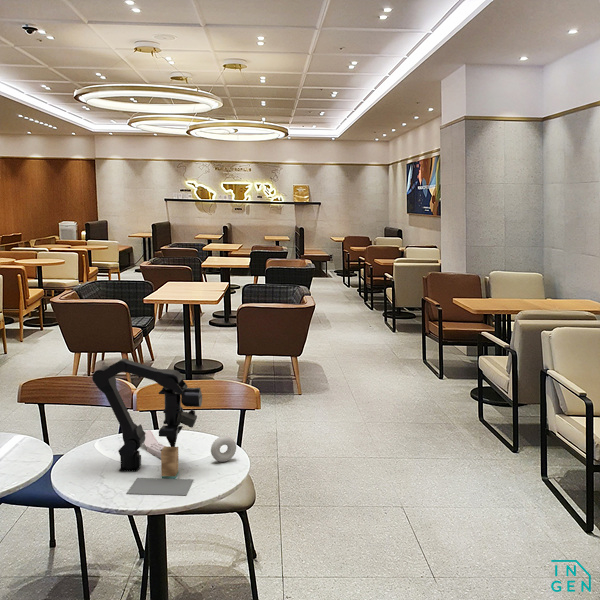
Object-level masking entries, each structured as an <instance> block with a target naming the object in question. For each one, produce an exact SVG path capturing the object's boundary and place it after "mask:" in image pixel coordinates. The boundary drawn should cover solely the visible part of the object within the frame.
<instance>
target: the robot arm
mask: <svg viewBox="0 0 600 600" xmlns="http://www.w3.org/2000/svg"><path fill="white" fill-rule="evenodd" d="M122 372H123V373H124V372H125V373H126V374H131V375H135V376H138V377H141V378H144V379H147V380H150V381H153V382H155V383H157V385H159V386H161V387H162V389H160V390H159V392H158V394H159V395H164V409H163V411H162V412H163V414H164V420H163V421H162V422H163V425H162V426H161V427H160V428H159V430H158V437H164V438H166V440H167V441H168V443H169V445H170V446H169V447H176V444H177V439H178V435H179V434H180V432H181V430H182V429H183V428H184V426H183V425H185V426H187V427H189V428H192V429H193V428H194V426H195V423H196V421H197V419H198V416H197V414H196V410H194V409H190V410H189V411H184V408H183V406H184V407H189V408H191V407H192V408H200V407H202V404H203V403H202V402H203V394H202V390H201V387H188V385H187V383H186V382H185V381H184V379H183V375H182V374H181V372H180V371H179V370H176V369H172V368H171V369H170V368H157V367H153V366H150V365H147V364H143V363H141V362H140V363H139V362H137V361H133V360H129V359H128V358H122V359H119V360H118V361H117V362H115V363H113V364H111V365H109V366H107V365H104V366H102V367H100V368H98V369H97V370H95V371H94V372H93V373H92V376H91V379H92V382H93V383H94V385H95V386H96V388H97V389H98V390H99V391H101V393H103V394H104V396H105V398H106V400H107V401H108V404H109V406H110V408H111V410H112V412H113V414H114V416H115V418H116V420H117V422H118V424H119V426H120V428H121V435H122V441H123V445H122V446H121V447H120V448H119V449H118V451H117V452H118V454H119V457H120V462H119V463H120V467H119V469H118V471H119V472H138V470H139V469H140V467H142V455H141V453H140V450H139V449H141V447H142V445H143V444H144V441H145V434H146V433H145V432H144V431H145V430H144V429H143V426H142V424H141V423H140V424H139V425H138V424H136V423H135V422H134V421H133V418H132V417H131V415H130V413H129V410H128V408H127V406H126V404H125V402H124V400H123V398H122V396H121V394H120V392H119V389H118V386H117V378H116V376H117V375H119V374H121V373H122Z"/></svg>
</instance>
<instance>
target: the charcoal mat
mask: <svg viewBox="0 0 600 600" xmlns="http://www.w3.org/2000/svg"><path fill="white" fill-rule="evenodd" d="M193 482H194V478H176V479H165V478H161V477H159V478H157V477H155V478H154V477H136V478H135V480H134V482H133V483H132V484H131V486H130V487H129V489H128V490H127V491H126V495H138V496H139V495H141V496H144V495H146V496H149V495H151V496H175V497H176V496H181V497H182V496H183V497H186V496H187V495H188V493H189V491H190V488H191V487H192V484H193Z"/></svg>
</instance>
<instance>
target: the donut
mask: <svg viewBox="0 0 600 600" xmlns="http://www.w3.org/2000/svg"><path fill="white" fill-rule="evenodd" d="M222 446H227V449H226V450H225V452H221V448H222ZM236 452H237V444H236V441H235V440H234V439H233V438H232V437H231V436H228V435H221V436H218V437H217V438H216V439H215V440H214V441H213V443H212V445H211V448H210V453H211V454H210V455H211V456H212V458H213V459H214V460H216V461H218V462H220V463H222V462H223V463H224V462H227V461H229V460H231V459H232V458H233V457H234V456H235V454H236Z"/></svg>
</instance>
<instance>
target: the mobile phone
mask: <svg viewBox="0 0 600 600" xmlns="http://www.w3.org/2000/svg"><path fill="white" fill-rule="evenodd" d="M143 431H144V432H145V433H146V434H145V441H144V443H143V444H144V445H145V447H146V450H147V452H149V453H150V454H152V455H153V456H154V457H156V456H157V457H156V458H158V459H160V460H161V451H162V449H163V448H164V446H165V447H168V446H166V445H165V444H163V443H160V442H159V441H158V440H157V438H156V437H155V435H154V433H153V431H152V430H151V429H148V430H143ZM178 458H179V453H178Z"/></svg>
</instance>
